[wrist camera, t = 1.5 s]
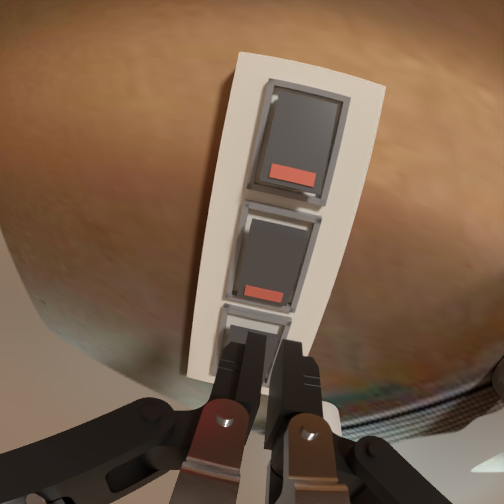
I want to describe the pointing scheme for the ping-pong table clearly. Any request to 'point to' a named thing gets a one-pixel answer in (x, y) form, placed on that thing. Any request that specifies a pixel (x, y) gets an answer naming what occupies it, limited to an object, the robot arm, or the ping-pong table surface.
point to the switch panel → (279, 206)
